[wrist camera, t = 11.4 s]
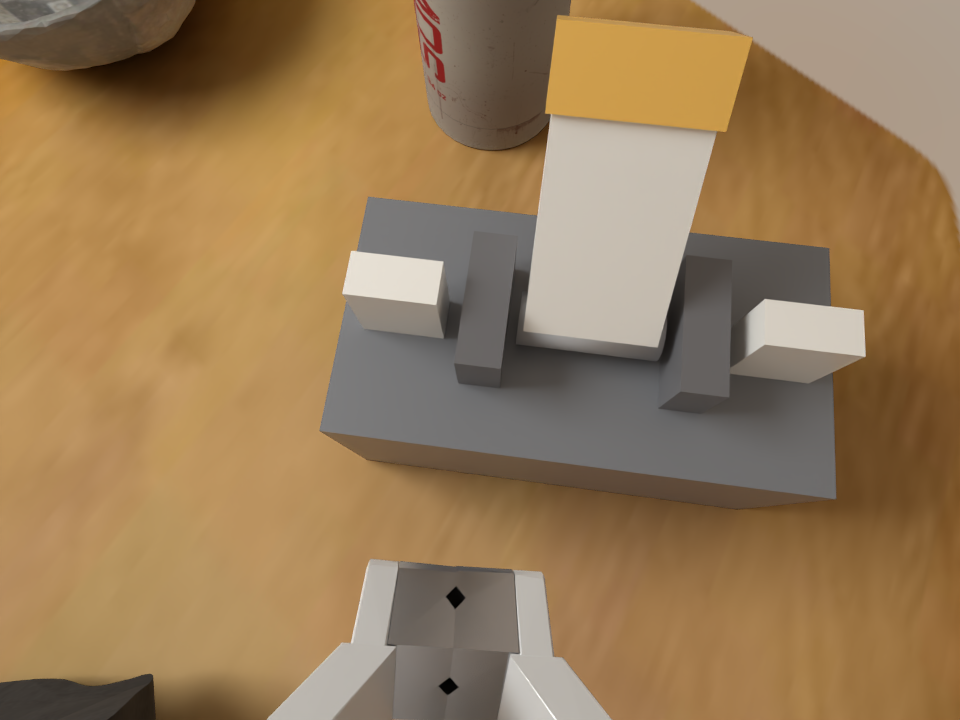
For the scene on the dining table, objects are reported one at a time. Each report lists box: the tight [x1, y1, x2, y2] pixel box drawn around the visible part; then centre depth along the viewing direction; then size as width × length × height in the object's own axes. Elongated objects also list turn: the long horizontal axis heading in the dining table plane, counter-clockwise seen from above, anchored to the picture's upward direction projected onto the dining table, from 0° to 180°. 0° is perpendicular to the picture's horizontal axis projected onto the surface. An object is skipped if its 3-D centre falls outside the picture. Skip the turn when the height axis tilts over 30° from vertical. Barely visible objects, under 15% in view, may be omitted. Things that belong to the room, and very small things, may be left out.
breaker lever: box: [516, 15, 753, 361], centre depth 20 cm, size 2×5×11 cm
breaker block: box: [320, 197, 866, 509], centre depth 26 cm, size 10×19×13 cm, turn 82°
